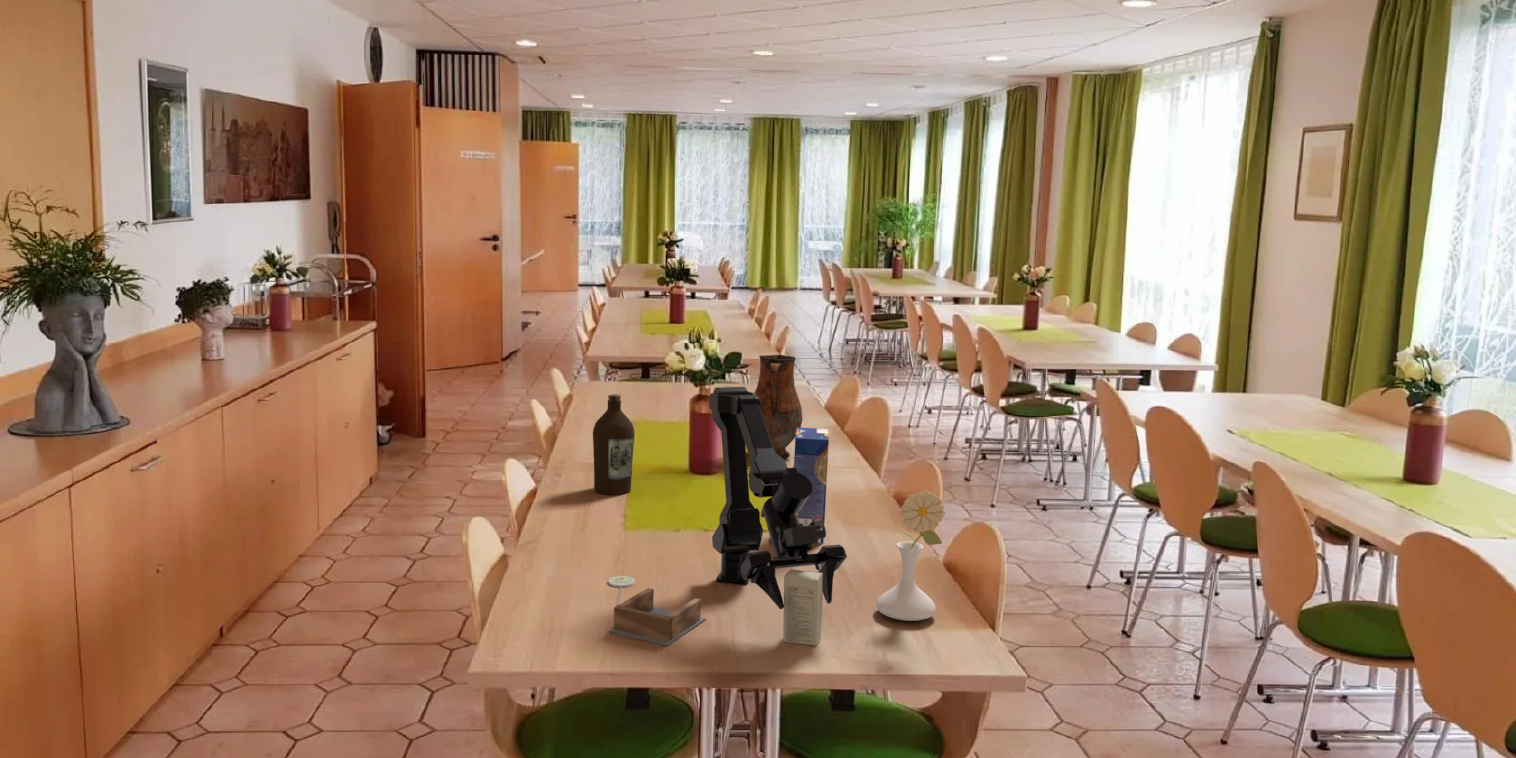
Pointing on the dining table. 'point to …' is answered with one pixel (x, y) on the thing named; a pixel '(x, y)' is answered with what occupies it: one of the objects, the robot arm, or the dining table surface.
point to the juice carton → (812, 471)
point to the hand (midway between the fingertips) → (806, 605)
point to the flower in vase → (913, 560)
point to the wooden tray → (654, 617)
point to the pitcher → (779, 400)
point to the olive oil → (613, 450)
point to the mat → (661, 612)
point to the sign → (621, 583)
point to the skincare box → (802, 607)
